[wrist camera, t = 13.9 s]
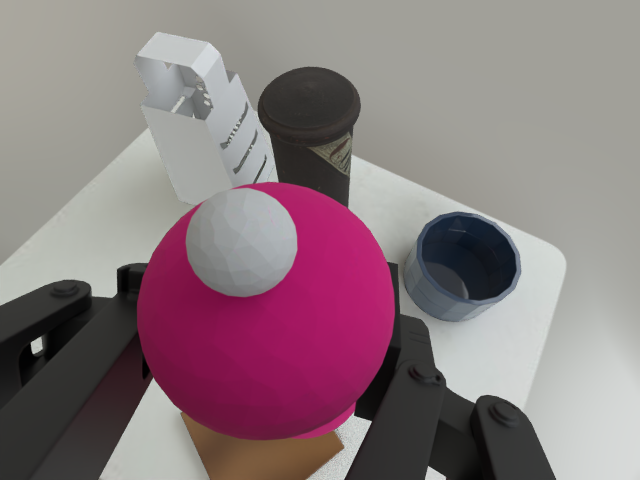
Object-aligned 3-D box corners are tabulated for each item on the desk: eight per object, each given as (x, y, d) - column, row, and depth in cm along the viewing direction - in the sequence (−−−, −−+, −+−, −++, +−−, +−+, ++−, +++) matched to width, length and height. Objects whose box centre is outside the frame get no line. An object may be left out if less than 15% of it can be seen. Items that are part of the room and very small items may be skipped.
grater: (212, 146, 52) (153, 7, 34) (275, 162, 51) (248, 25, 33) (178, 200, 48) (90, 73, 30) (246, 220, 46) (197, 98, 28)
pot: (510, 288, 41) (542, 266, 35) (446, 340, 38) (469, 326, 32) (447, 226, 45) (466, 196, 39) (386, 269, 42) (396, 244, 36)
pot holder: (344, 446, 34) (344, 447, 33) (238, 534, 31) (236, 537, 30) (280, 345, 39) (279, 343, 38) (183, 413, 36) (180, 413, 35)
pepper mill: (230, 386, 22) (-159, 276, 4) (296, 298, 25) (216, 8, 7) (320, 462, 20) (267, 805, 2) (381, 357, 23) (569, 160, 5)
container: (350, 241, 44) (367, 126, 27) (281, 244, 44) (252, 131, 26) (346, 187, 48) (357, 55, 30) (282, 189, 48) (257, 59, 30)
